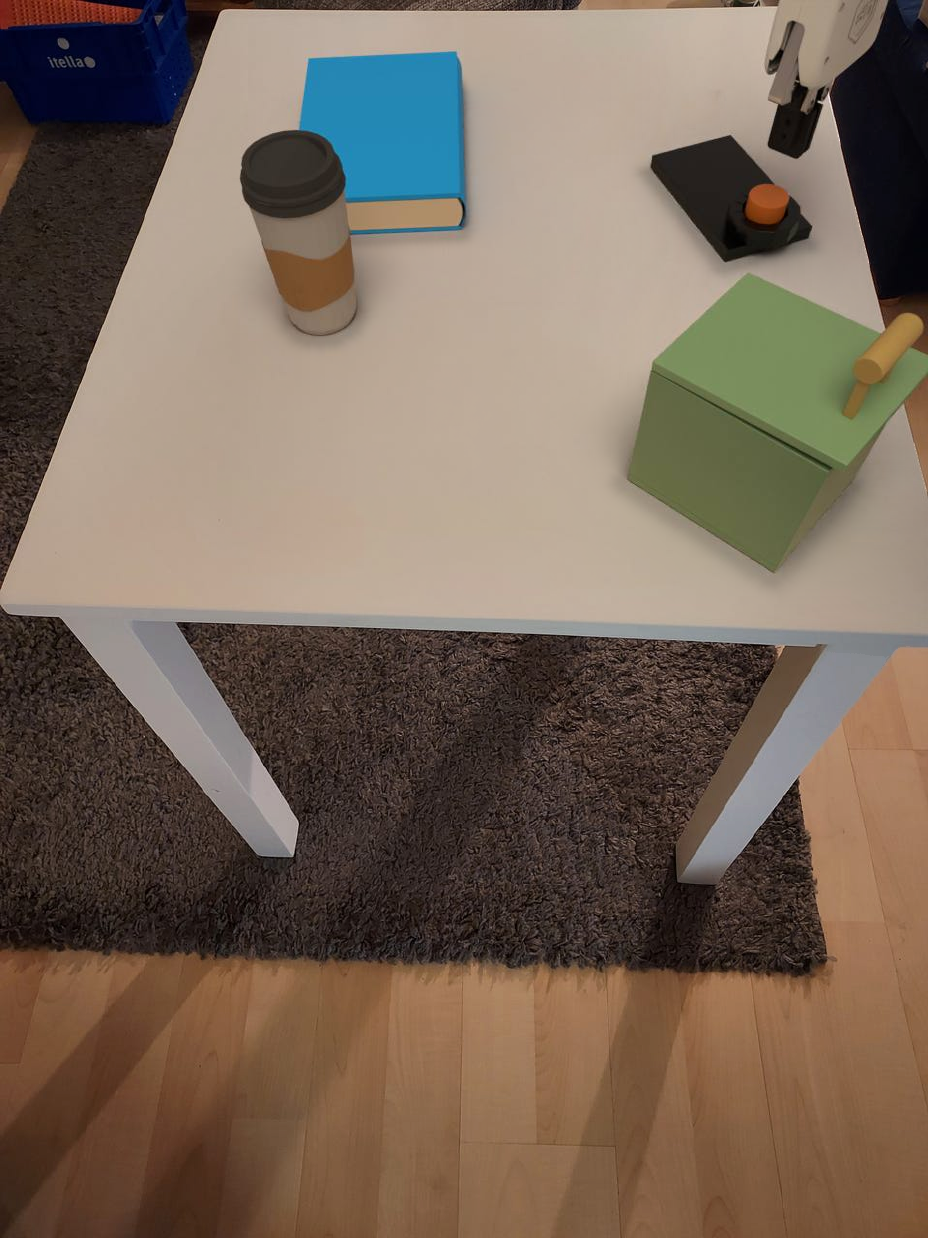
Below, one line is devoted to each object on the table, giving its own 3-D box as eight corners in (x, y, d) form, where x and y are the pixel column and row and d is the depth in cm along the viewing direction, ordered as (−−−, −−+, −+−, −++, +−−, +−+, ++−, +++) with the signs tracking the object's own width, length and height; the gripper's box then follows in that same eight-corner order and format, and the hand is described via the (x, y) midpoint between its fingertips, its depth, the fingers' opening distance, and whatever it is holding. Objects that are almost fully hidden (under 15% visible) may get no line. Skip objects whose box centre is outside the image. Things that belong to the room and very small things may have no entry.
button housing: (815, 246, 80) (826, 217, 78) (731, 270, 79) (739, 242, 76) (727, 146, 88) (734, 117, 86) (650, 166, 87) (654, 138, 84)
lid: (933, 368, 56) (972, 298, 51) (843, 474, 52) (876, 408, 47) (745, 280, 61) (764, 209, 56) (650, 369, 57) (662, 301, 52)
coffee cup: (381, 292, 79) (358, 135, 66) (346, 353, 75) (313, 199, 62) (302, 275, 81) (263, 118, 68) (263, 333, 77) (215, 179, 64)
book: (288, 201, 80) (305, 54, 92) (298, 240, 84) (312, 94, 96) (468, 192, 80) (461, 45, 92) (469, 232, 83) (462, 86, 95)
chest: (853, 479, 67) (918, 368, 56) (774, 573, 63) (828, 472, 52) (709, 397, 71) (744, 281, 61) (627, 479, 67) (650, 370, 57)
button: (791, 219, 78) (796, 202, 77) (756, 229, 78) (761, 211, 76) (771, 196, 80) (776, 179, 78) (737, 206, 79) (742, 188, 78)
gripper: (860, -61, 53) (778, 207, 69) (969, -141, 58) (869, 125, 74) (757, -91, 56) (701, 173, 72) (870, -165, 61) (794, 97, 77)
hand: (787, 148), depth 73 cm, fingers closed
